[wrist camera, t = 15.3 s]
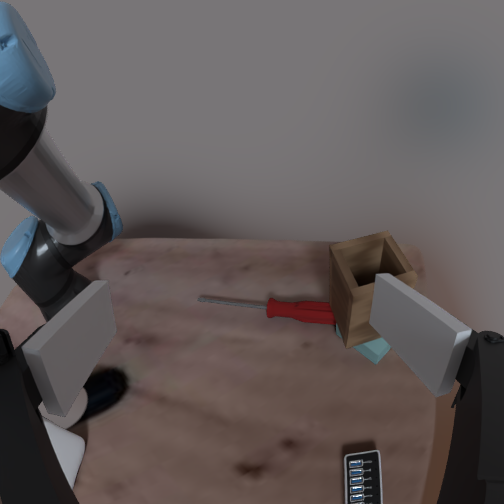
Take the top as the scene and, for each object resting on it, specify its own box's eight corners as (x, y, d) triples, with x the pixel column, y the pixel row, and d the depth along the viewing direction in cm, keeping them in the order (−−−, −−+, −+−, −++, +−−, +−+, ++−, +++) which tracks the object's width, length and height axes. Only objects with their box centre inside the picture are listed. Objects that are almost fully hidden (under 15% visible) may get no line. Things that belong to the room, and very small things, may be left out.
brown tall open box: (346, 348, 38) (353, 296, 30) (329, 303, 44) (329, 245, 36) (398, 331, 38) (417, 276, 30) (377, 289, 44) (387, 230, 36)
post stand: (336, 333, 44) (335, 299, 38) (368, 301, 47) (372, 263, 40) (375, 364, 39) (384, 333, 33) (407, 327, 41) (419, 291, 35)
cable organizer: (69, 512, 27) (16, 500, 19) (33, 484, 30) (-15, 466, 22) (91, 441, 37) (42, 417, 30) (54, 421, 40) (9, 395, 33)
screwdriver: (204, 297, 55) (198, 285, 53) (345, 311, 47) (345, 298, 44) (197, 313, 53) (190, 301, 51) (342, 330, 44) (343, 318, 42)
